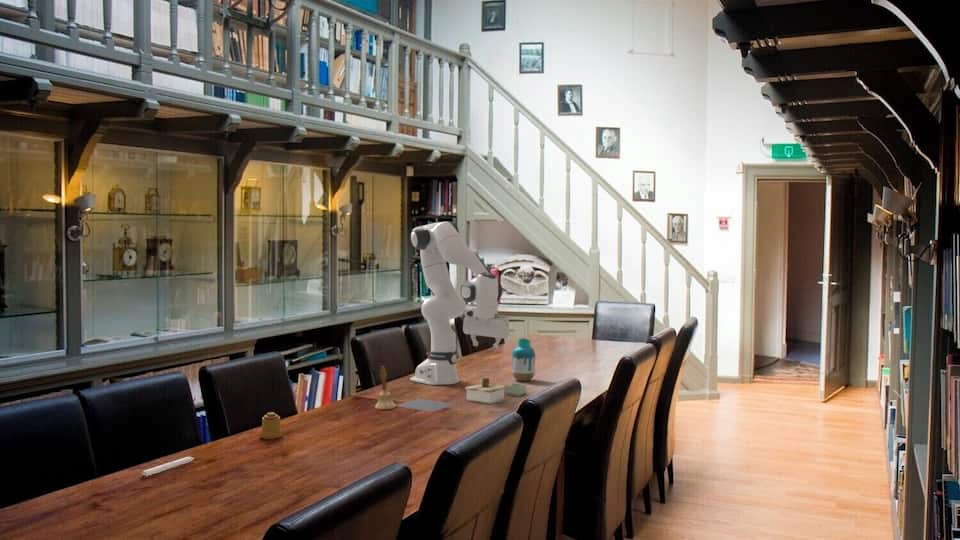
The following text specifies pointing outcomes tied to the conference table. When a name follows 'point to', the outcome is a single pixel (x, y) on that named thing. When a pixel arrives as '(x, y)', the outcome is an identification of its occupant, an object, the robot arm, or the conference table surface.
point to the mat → (425, 405)
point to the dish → (485, 396)
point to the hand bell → (384, 393)
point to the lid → (485, 386)
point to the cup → (515, 389)
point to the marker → (167, 466)
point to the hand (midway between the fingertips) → (485, 347)
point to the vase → (523, 360)
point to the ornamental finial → (271, 426)
